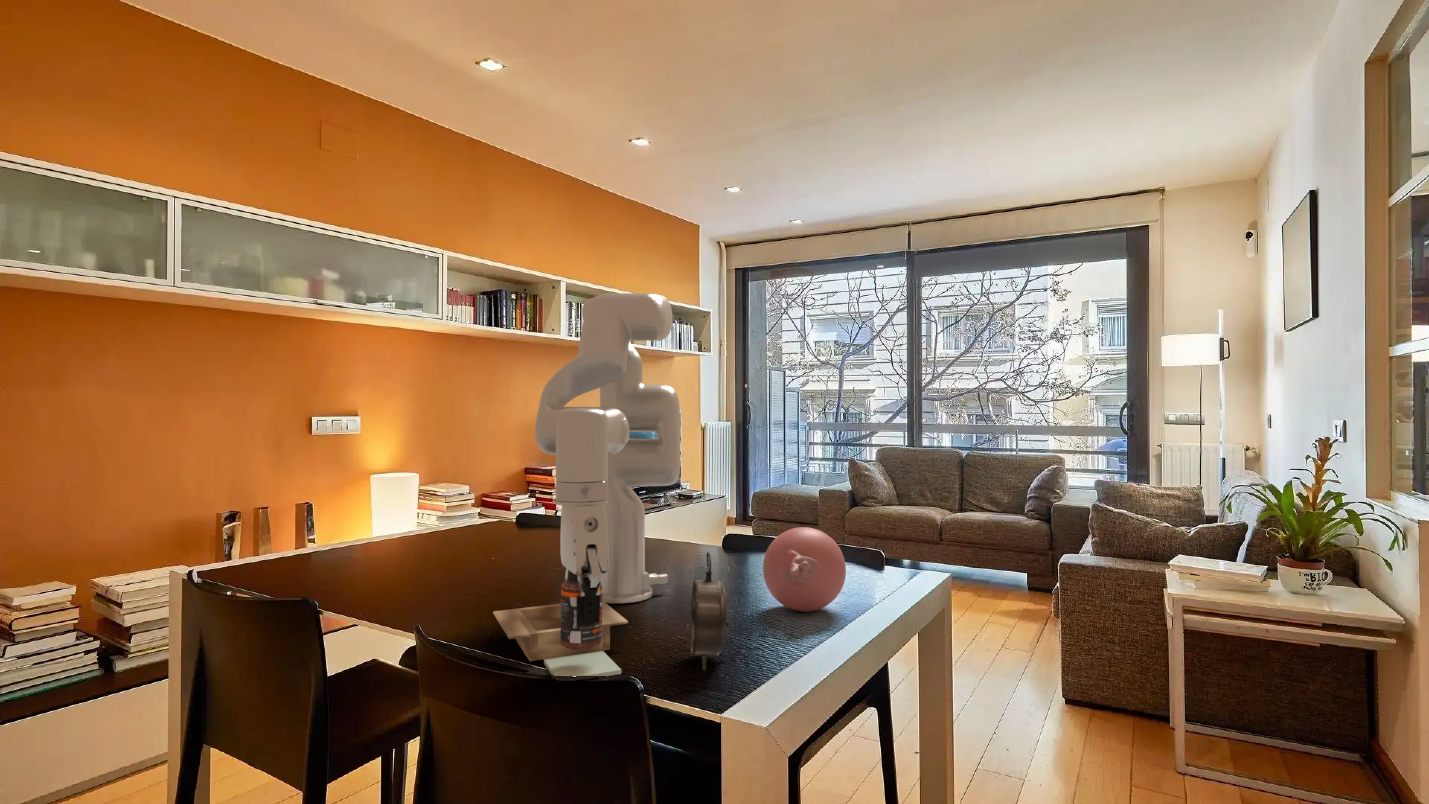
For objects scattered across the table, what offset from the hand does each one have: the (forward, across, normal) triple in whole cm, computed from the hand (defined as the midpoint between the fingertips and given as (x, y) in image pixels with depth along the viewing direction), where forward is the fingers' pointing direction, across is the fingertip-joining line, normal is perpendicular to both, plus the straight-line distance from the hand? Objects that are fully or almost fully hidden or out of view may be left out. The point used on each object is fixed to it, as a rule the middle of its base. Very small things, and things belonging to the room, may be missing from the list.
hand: (581, 616), depth 106 cm
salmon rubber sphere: (+8, +11, -44) cm, 46 cm away
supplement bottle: (+4, 0, 0) cm, 4 cm away
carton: (+7, +14, 0) cm, 16 cm away
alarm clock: (+8, -5, -18) cm, 20 cm away
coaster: (+8, 0, 0) cm, 8 cm away
